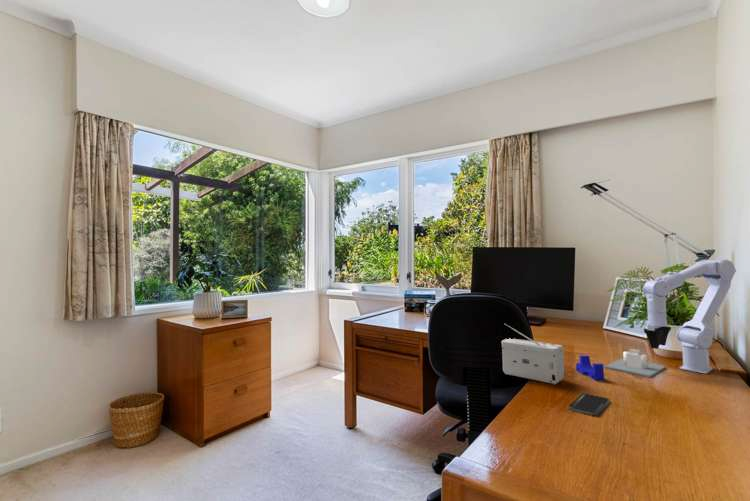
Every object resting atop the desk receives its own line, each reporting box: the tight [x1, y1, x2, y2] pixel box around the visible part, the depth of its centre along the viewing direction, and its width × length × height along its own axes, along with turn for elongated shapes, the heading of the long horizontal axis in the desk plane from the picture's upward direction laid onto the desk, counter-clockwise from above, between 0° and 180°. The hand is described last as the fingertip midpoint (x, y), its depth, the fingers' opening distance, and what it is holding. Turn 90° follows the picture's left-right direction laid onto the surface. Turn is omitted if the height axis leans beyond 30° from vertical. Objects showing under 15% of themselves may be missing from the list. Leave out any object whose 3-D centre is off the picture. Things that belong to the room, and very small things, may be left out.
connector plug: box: [622, 348, 649, 369], centre depth 142 cm, size 3×8×6 cm, turn 36°
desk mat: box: [604, 358, 667, 379], centre depth 142 cm, size 17×15×1 cm
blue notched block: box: [575, 354, 605, 382], centre depth 136 cm, size 12×4×6 cm, turn 174°
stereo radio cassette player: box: [500, 323, 565, 385], centre depth 136 cm, size 21×8×20 cm, turn 47°
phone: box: [568, 392, 611, 417], centre depth 109 cm, size 8×1×15 cm
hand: (658, 346), depth 139 cm, fingers open, 7 cm apart
